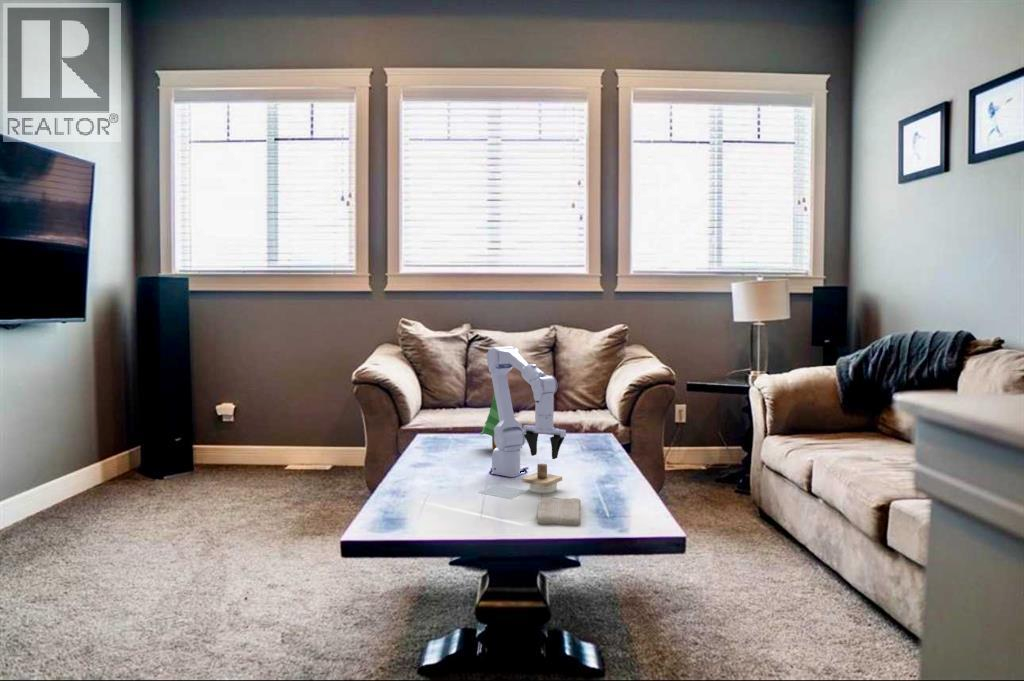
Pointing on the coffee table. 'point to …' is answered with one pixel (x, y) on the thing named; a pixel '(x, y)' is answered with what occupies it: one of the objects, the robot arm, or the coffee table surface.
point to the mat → (503, 491)
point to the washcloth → (559, 511)
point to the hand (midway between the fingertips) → (544, 456)
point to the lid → (542, 477)
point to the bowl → (543, 488)
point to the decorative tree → (492, 421)
